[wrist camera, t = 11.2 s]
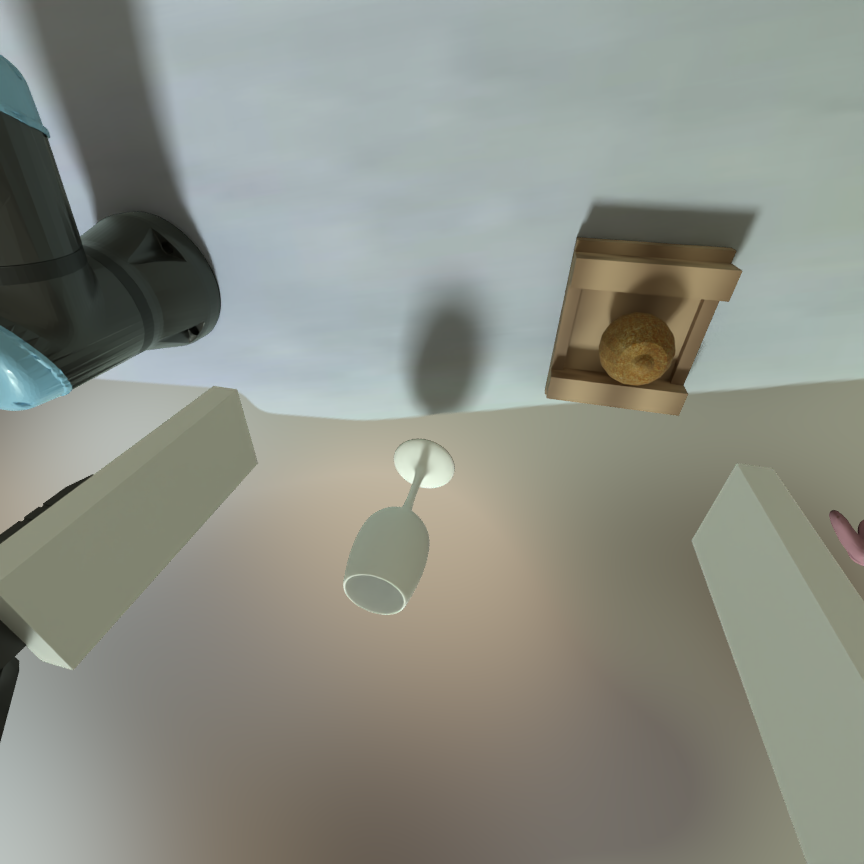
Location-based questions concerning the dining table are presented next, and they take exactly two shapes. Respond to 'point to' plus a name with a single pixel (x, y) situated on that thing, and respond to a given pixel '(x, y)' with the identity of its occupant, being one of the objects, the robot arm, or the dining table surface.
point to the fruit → (637, 348)
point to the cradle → (636, 292)
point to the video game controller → (849, 536)
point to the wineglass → (396, 535)
